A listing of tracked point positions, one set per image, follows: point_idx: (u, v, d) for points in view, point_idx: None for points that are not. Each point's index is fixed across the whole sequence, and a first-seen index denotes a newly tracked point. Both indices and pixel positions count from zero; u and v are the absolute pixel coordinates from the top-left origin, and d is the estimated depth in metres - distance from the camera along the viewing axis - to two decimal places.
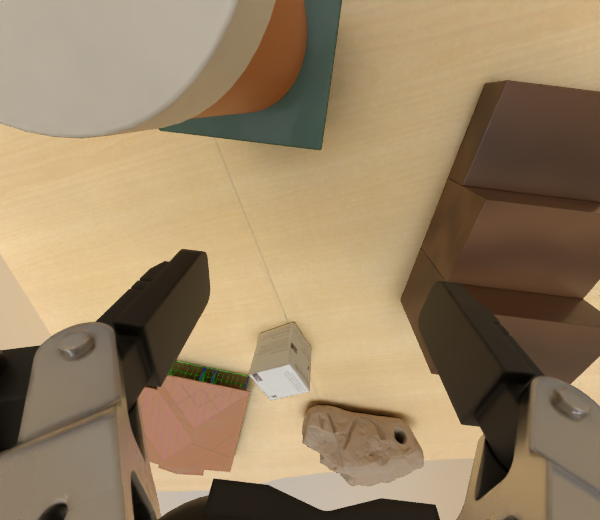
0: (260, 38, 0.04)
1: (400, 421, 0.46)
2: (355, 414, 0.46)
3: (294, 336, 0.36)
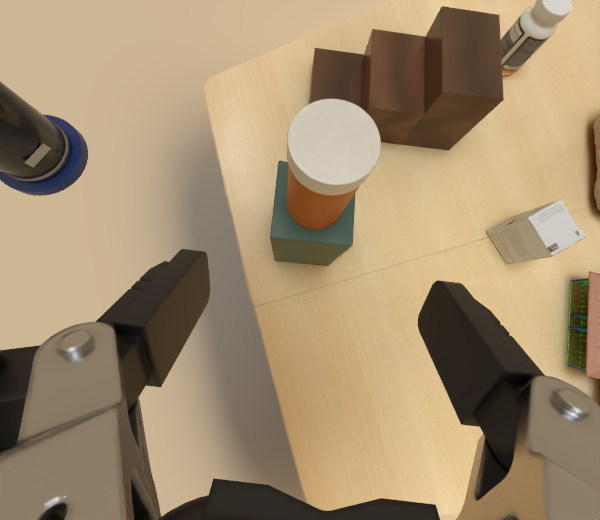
0: None
1: (596, 123, 0.44)
2: (598, 166, 0.43)
3: (500, 225, 0.39)
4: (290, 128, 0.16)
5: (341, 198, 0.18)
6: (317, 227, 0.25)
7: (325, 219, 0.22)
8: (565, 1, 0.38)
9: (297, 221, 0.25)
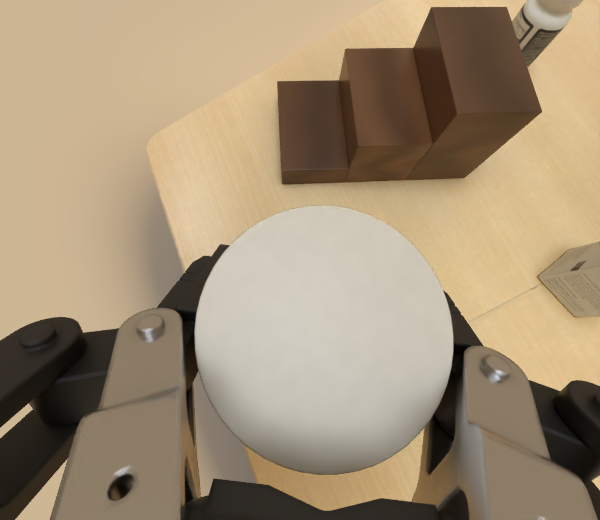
0: None
1: None
2: None
3: (559, 270, 0.29)
4: (200, 310, 0.06)
5: None
6: None
7: None
8: None
9: None
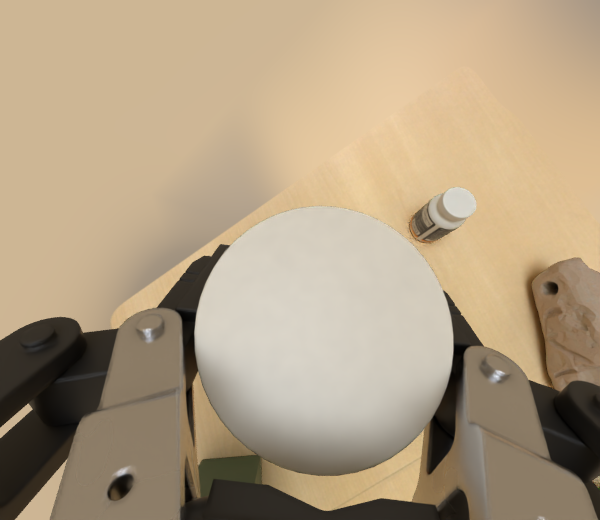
0: None
1: (533, 286, 0.42)
2: (545, 339, 0.40)
3: None
4: (200, 311, 0.06)
5: None
6: None
7: None
8: (468, 200, 0.36)
9: None
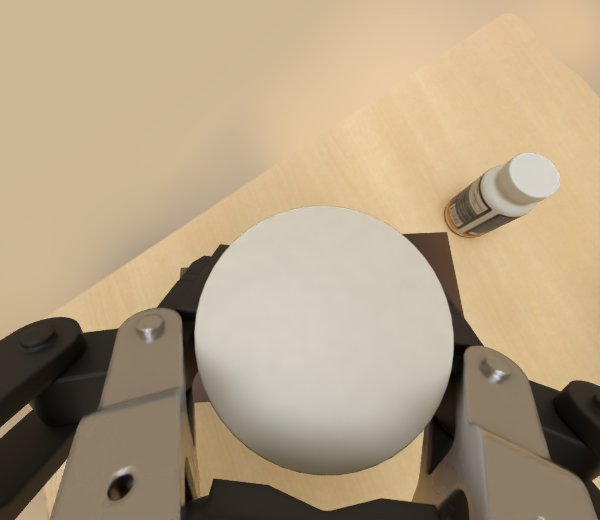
0: None
1: None
2: None
3: None
4: (200, 310, 0.06)
5: None
6: None
7: None
8: (547, 171, 0.24)
9: None
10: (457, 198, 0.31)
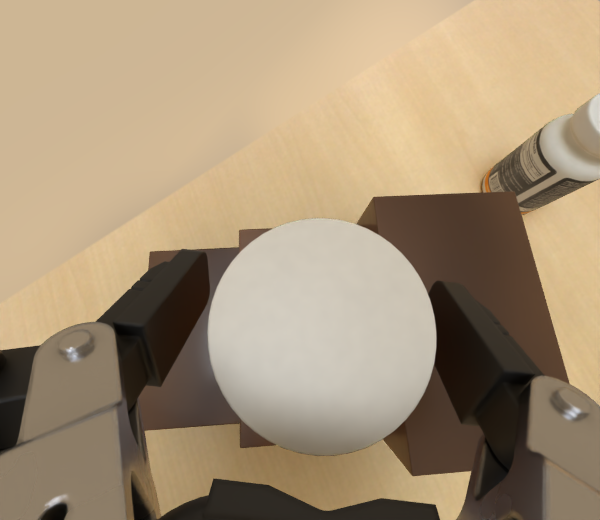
0: None
1: None
2: None
3: None
4: (212, 312, 0.07)
5: None
6: None
7: None
8: None
9: None
10: (501, 165, 0.24)
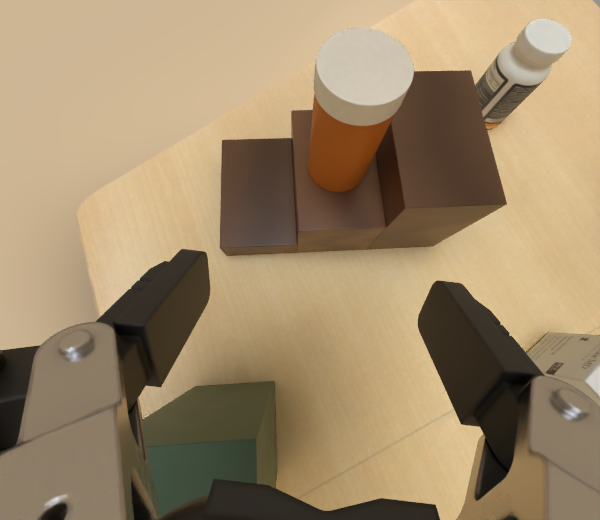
0: None
1: None
2: None
3: None
4: (317, 59, 0.15)
5: (375, 133, 0.17)
6: (345, 187, 0.24)
7: (355, 171, 0.21)
8: (559, 33, 0.26)
9: (323, 185, 0.24)
10: None
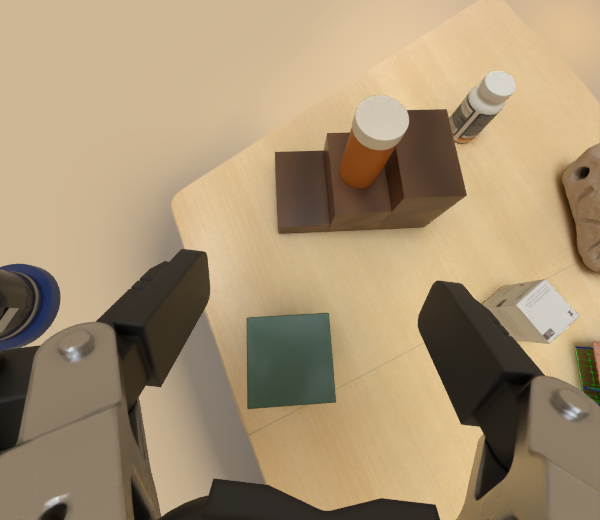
0: None
1: (564, 177, 0.45)
2: (576, 222, 0.43)
3: (490, 304, 0.38)
4: (356, 114, 0.28)
5: (387, 153, 0.30)
6: (365, 185, 0.36)
7: (372, 175, 0.34)
8: (508, 81, 0.39)
9: (350, 183, 0.36)
10: (454, 113, 0.46)
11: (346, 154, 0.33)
